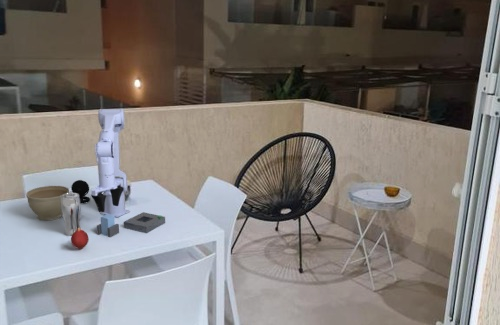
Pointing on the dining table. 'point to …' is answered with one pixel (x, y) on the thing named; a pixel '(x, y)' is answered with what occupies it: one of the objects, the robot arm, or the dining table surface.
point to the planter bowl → (46, 201)
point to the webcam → (81, 190)
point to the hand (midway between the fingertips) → (108, 208)
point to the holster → (109, 230)
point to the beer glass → (71, 212)
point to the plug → (106, 223)
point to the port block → (144, 222)
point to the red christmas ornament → (79, 239)
